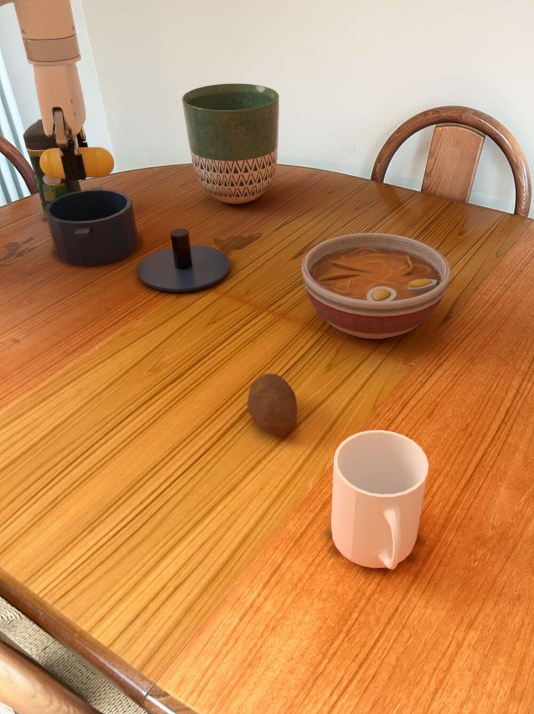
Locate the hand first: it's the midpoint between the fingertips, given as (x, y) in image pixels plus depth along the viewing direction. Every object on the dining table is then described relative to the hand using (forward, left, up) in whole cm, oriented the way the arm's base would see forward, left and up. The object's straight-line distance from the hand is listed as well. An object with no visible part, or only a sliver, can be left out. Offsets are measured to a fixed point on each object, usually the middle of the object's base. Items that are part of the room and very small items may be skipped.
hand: (79, 172), depth 106 cm
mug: (+38, -65, -19) cm, 77 cm away
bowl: (+46, -20, -19) cm, 53 cm away
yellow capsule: (0, 0, -1) cm, 1 cm away
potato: (+28, -43, -19) cm, 54 cm away
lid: (+15, 0, -19) cm, 24 cm away
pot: (-2, +12, -19) cm, 23 cm away
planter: (+26, +32, -19) cm, 46 cm away
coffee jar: (-11, +29, -19) cm, 37 cm away
